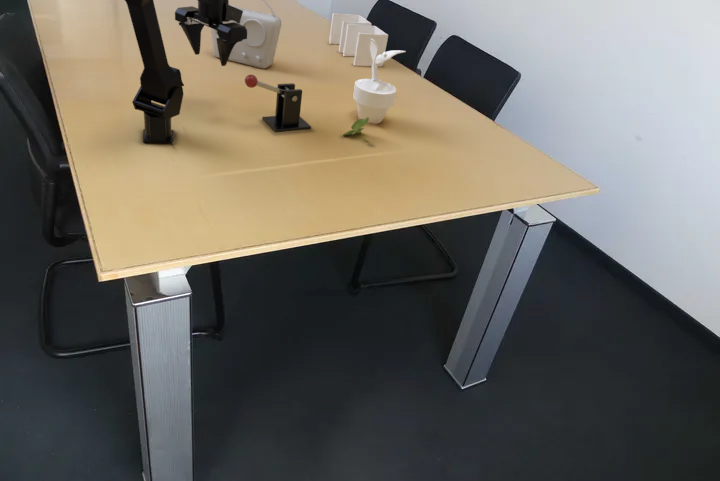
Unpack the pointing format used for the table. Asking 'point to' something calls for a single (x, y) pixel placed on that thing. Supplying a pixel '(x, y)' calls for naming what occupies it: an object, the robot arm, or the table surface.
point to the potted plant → (375, 89)
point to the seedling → (358, 127)
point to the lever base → (287, 111)
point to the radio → (254, 39)
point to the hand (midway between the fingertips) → (210, 59)
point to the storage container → (356, 37)
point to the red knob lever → (263, 85)
